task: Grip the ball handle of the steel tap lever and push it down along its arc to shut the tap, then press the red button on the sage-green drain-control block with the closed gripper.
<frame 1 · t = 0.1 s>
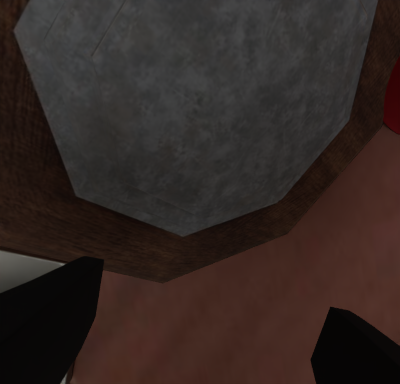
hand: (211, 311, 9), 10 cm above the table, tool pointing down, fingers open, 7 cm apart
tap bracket: (23, 310, 21), on the table
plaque: (218, 94, 18), on the table
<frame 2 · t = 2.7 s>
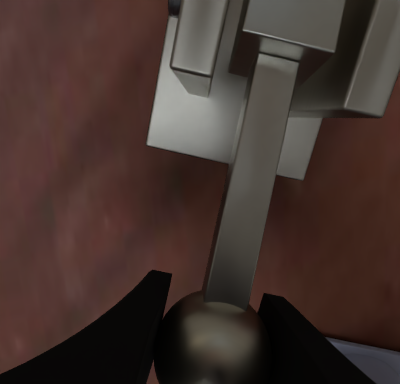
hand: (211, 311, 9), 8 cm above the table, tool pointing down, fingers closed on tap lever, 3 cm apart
tap lever: (248, 181, 8), point 8 cm above the table, hinge at 15.0°, touching gripper
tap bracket: (247, 60, 15), on the table
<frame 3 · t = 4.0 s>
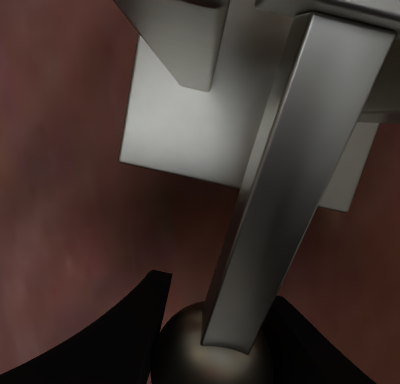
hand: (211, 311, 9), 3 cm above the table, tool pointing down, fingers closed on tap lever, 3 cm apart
tap lever: (267, 217, 5), point 6 cm above the table, hinge at -14.1°, touching gripper
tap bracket: (267, 38, 10), on the table
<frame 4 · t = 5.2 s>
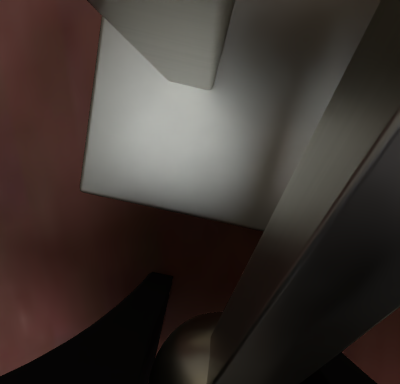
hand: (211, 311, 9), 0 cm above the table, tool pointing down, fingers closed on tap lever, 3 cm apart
tap lever: (317, 269, 3), point 5 cm above the table, hinge at -27.7°, touching gripper
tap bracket: (295, 13, 7), on the table
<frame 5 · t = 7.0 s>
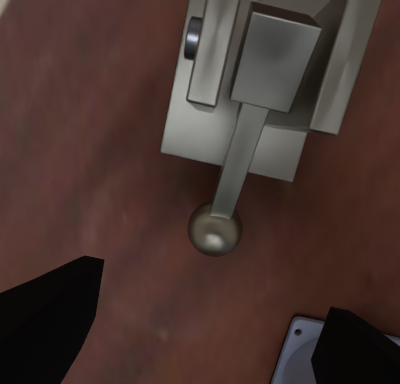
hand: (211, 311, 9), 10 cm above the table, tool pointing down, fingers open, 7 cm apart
tap lever: (236, 161, 14), point 5 cm above the table, hinge at -25.6°
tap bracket: (245, 81, 18), on the table
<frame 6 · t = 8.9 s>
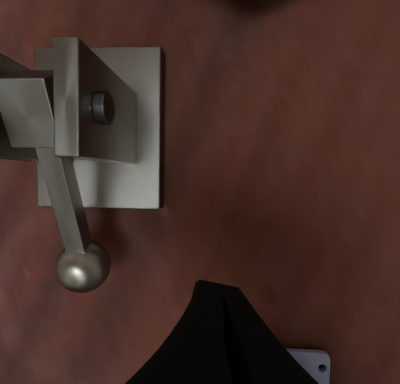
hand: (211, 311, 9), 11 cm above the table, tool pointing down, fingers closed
tap lever: (66, 198, 15), point 5 cm above the table, hinge at -25.6°
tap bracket: (104, 131, 20), on the table
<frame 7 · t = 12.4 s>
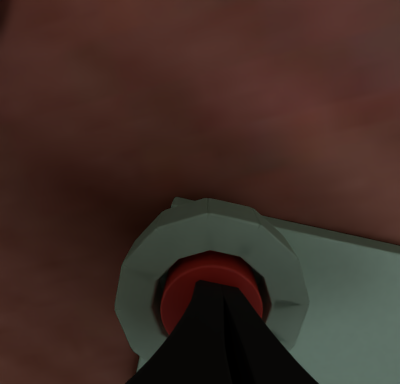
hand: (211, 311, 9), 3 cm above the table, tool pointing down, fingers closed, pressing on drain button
drain block: (288, 322, 13), on the table
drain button: (210, 296, 10), point 2 cm above the table, slide at -0.9 cm, touching gripper
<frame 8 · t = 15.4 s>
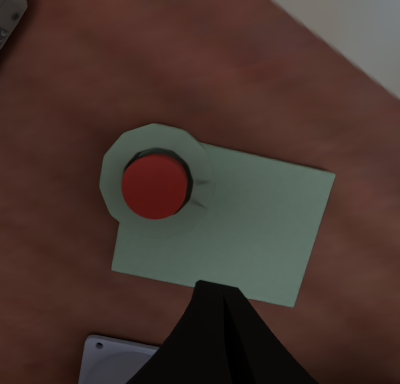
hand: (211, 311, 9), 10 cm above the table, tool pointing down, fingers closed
drain block: (218, 218, 20), on the table
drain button: (156, 185, 16), point 3 cm above the table, slide at 0.1 cm
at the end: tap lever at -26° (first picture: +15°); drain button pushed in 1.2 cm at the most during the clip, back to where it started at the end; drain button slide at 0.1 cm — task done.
